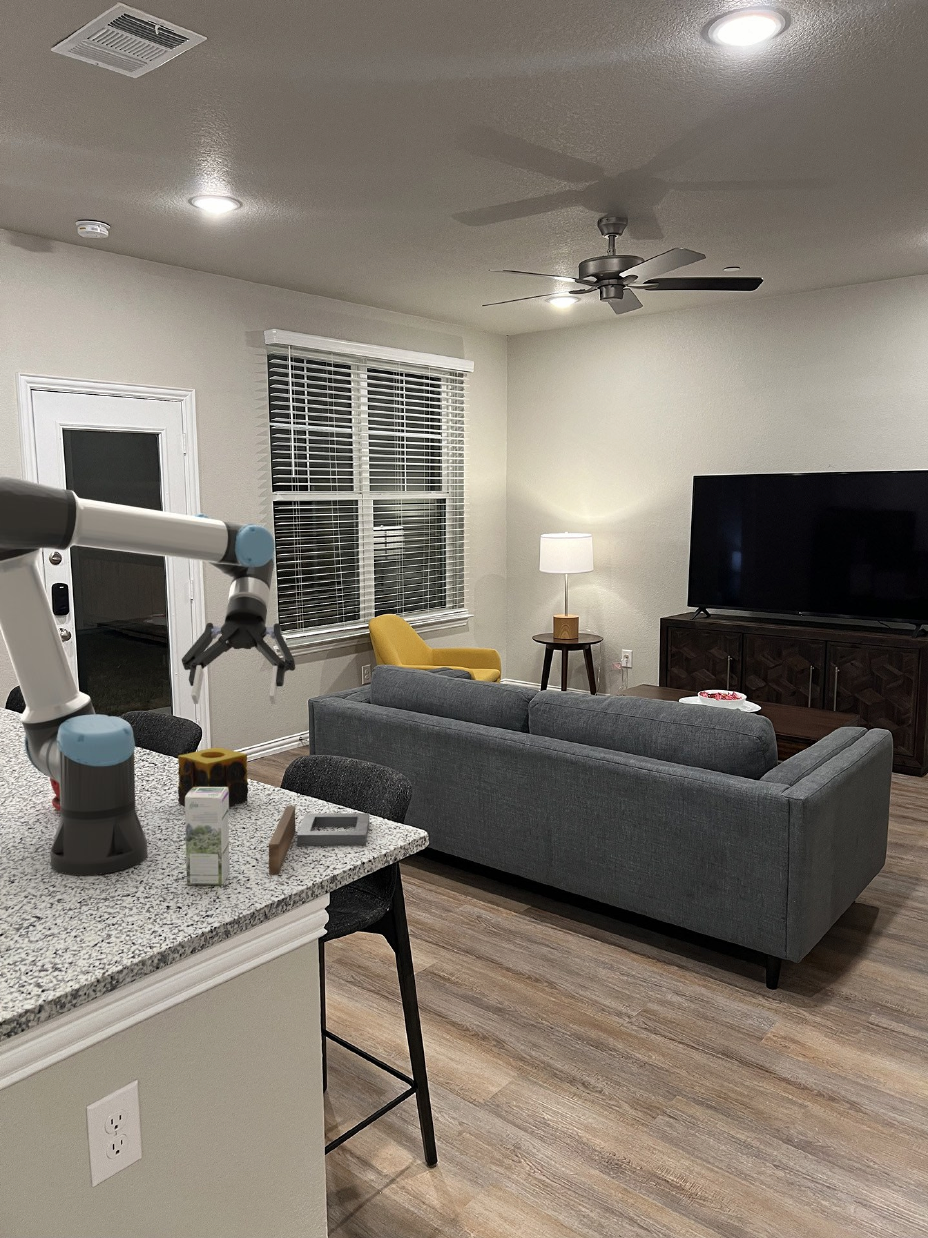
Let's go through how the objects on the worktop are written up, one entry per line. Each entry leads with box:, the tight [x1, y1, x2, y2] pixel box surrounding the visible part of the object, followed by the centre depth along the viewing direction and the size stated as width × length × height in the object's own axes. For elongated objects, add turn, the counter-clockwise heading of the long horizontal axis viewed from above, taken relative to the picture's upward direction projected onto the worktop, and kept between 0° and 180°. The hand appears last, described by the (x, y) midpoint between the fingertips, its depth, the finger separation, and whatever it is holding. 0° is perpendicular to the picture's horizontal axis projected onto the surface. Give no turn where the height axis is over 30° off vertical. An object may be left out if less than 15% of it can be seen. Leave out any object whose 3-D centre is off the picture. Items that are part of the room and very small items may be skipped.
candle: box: [177, 746, 249, 808], centre depth 188 cm, size 10×10×10 cm
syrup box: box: [184, 787, 231, 886], centre depth 148 cm, size 6×6×14 cm
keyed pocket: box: [296, 812, 371, 847], centre depth 171 cm, size 12×12×2 cm
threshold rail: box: [268, 805, 296, 875], centre depth 161 cm, size 2×20×5 cm, turn 3°
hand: (233, 700), depth 166 cm, fingers open, 13 cm apart
